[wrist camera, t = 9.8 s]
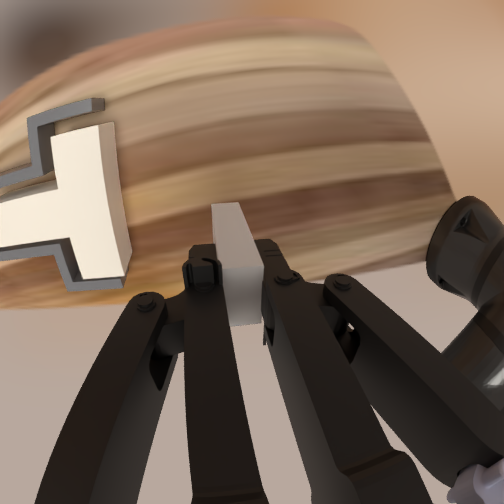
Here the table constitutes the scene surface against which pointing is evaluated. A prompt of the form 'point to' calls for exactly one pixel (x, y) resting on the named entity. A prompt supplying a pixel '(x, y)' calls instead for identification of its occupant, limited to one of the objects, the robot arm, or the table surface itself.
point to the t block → (75, 204)
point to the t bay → (41, 165)
